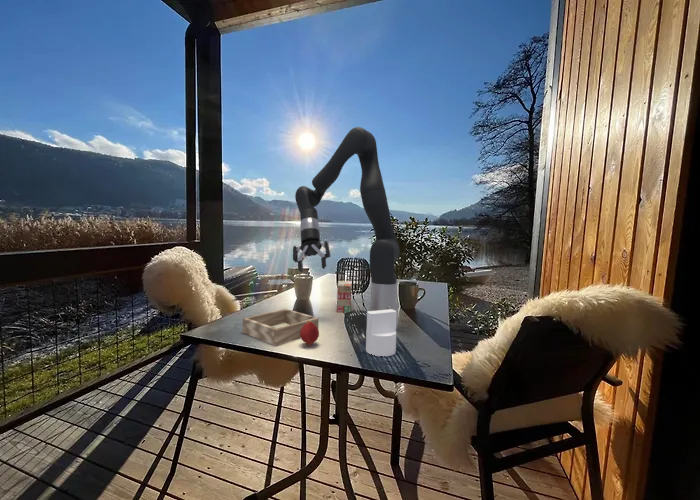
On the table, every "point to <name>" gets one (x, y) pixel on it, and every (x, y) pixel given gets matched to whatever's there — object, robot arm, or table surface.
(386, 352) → the cylinder with rectangular tab
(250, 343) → the table surface
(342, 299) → the cardboard carton
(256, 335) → the wooden box
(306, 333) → the onion
